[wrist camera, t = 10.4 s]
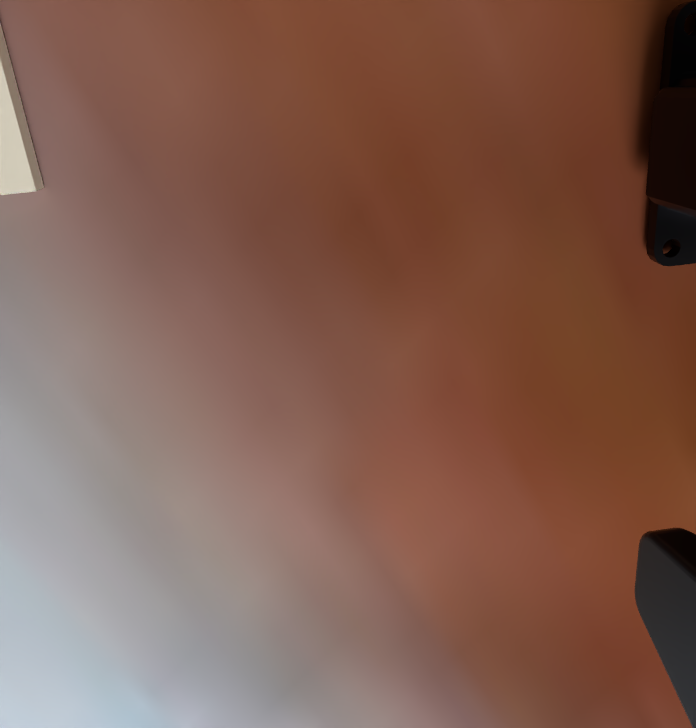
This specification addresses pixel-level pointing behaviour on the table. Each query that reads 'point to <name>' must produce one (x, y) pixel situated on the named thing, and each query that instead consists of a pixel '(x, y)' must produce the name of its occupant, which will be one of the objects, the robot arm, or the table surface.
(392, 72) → the table surface
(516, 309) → the table surface
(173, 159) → the table surface
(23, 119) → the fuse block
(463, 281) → the table surface
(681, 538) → the robot arm
